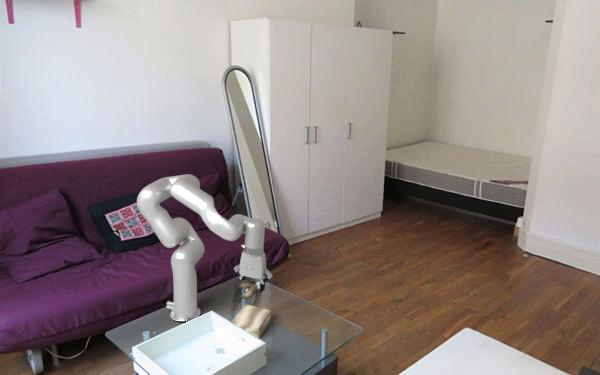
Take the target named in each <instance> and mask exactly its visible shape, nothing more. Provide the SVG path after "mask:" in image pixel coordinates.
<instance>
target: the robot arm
mask: <svg viewBox="0 0 600 375" xmlns="http://www.w3.org/2000/svg"><path fill="white" fill-rule="evenodd" d="M169 198H173V199H175V200H177V201H178V202H180V203H181V204H183V205H184V206H185V207H187V208H189V209H190V210H192V211H193V212H195V213H196V214H198V215H199V216H200V218H201V220H202V221H203V223H204V224H205V225H206V227H207V228H208V229H209V230H210V231H212V232H213V233H214V234H215V235H217V236H218V237H219V238H221V239H224V240H225V241H229V242H234V241H237V240H238V239H239V238H240V237H241V236H242V234H243V235H244V244H243V243H242V244H241V248H242V249H243V251H242V252H241V256H240V261H239V264H237V265H235V266H234V267H233V270H234V271H235V274H236V275H237V277H238V279H239V282H240V281H242V280H246V278H250V279H251V278H252V279H254V280H258V281H260V282H261V283H260V289H259V293H260V294H261V293H263V292H264V291H265V289H266V283H267V282H268V281H269V280H270V279H271V278H272V277H273V276H274V275H273V274H272V272H271V271H270V270H269V269H267V258H266V253H265V252H264V248H265V233H266V232H265V230H266V229H265V228H266V222H265V221H264V220H263V219H261V218H258V217H257V218H256V217H249V216H246V215H243V214H241V213H238V214H236V213H235V214H234V215H232V216H231V217H230V218H229V219H227V218H225V217H223V215H221V214H220V213H219V212H218V211H217V209H216V207H215V201H214V198H213V196H212V195H210V194H208V193H207V192H205V191H204V190H202V189H201V184H200V180H199V179H198V177H196V176H195V175H193V174H190V173H189V174H186V173H185V174H181V175H174V176H173V175H172V176H165V177H162V178H159V179H157V180H154V181H153V182H152V183H149V184H147V185H146V186H145V187H143V188H142V189H141V190H140V192H138V195H137V197H136V205H137V209H138V211H139V213H140V214H141V215H142V217H143V218H144V219H145V220H146V222H147V224H149V226H150V227H151V229H152V231H153V232H154V234H155V235H156V236H157V238H158V240H159V241H160V243H161V244H162V245H163V246H164V247H166V248H168V249H172V248H175V247H177V246H178V245H179V246H178V247H177V249H175V250H174V251H173V254H172V255H171V258H170V265H171V271H172V284H173V301H170V300H167V302H166V307H165V308H166V309H168V310H171V311H170V314H169V317H170V319H171V318H172V319H173V320H175V321H185V320H186V321H187V320H188V318H194V317H197V316H199V315H200V314H201V312H202V310H201V309H200V308H199V307H198V299H197V298H198V281H197V280H198V277H197V272H196V269H195V268H196V264H197V263H198V261H199V260H200V259H201V258H202V257H203V256H204V254H205V250H206V249H205V245H204V243H203V241H202V239H201V238H200V236H199V235H198V233H197V232H196V231H195V229H194V228H193V226H192V224H191V223H190V222H189V221H188V220H187V219H186V218H184V217H175V218H172V217H171V216H170V214H169V213H168V212H169V211H167V210H166V209H165V208H164V207H162V206H160V204H161V203H162V202H164V201H166V200H167V199H169ZM265 275H266V276H265ZM200 316H201V315H200ZM172 319H171V320H172ZM173 320H172V321H173ZM175 321H174V322H175Z"/></svg>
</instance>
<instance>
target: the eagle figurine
mask: <svg viewBox="0 0 600 375" xmlns="http://www.w3.org/2000/svg"><path fill="white" fill-rule="evenodd" d="M260 283H261V282H260V280H258V281H257V282H256V279H254V278H250V280H249V279H248V280H247V279H245V280H242V281H240V280H239V282H237V285H236V287H237V288H238V289H245V292H244V293H243V294H240V298H241V300H249V299H252V297H253V296H254V295H256V294H257V291H258V290H260ZM257 289H258V290H257Z"/></svg>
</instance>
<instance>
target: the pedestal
mask: <svg viewBox="0 0 600 375" xmlns="http://www.w3.org/2000/svg"><path fill="white" fill-rule="evenodd" d="M271 318H272V310H270V309H267V308H262V307H259V306H254V305H249V304H244V305H242V308H241V309H240V310H239V311H238V312H237V314H236V315H235V316H234V318H232V319H231V322H230V324H231V323H233V324H235V325H237V326H238V327H240V328H242V329H243V330H245V331H247V332H249V333H251V334H252V335H254V336H256V337H257V338H259V339H260V337H261V336H262V334H264V332H265V330H266V328H267V327H268V325H269V324H270V322H271V321H272V320H271Z"/></svg>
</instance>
